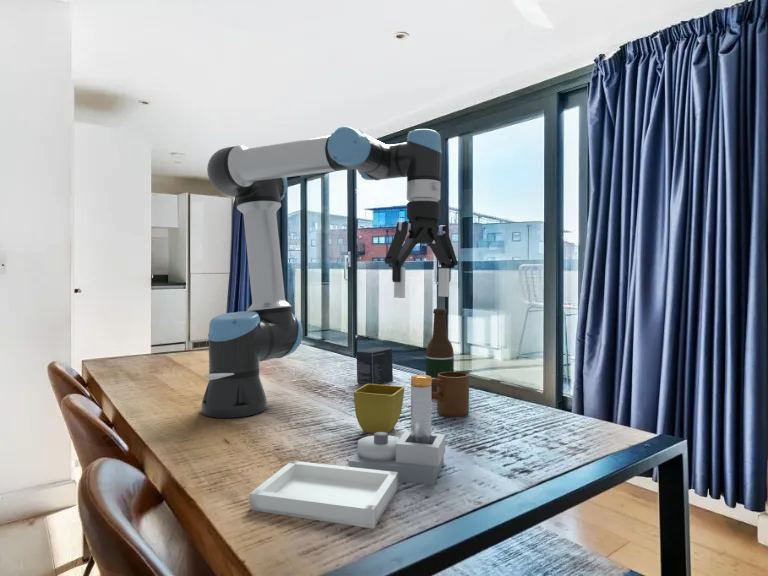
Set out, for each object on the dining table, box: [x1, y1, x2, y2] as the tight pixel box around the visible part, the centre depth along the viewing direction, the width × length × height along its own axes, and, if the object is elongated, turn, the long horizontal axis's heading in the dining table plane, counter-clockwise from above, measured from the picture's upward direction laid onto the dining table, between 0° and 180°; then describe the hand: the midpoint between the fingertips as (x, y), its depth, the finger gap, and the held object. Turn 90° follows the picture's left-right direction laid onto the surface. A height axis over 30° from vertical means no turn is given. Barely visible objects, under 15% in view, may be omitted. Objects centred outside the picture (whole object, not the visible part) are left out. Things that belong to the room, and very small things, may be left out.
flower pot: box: [352, 384, 405, 434], centre depth 106 cm, size 9×9×9 cm
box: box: [355, 346, 394, 386], centre depth 154 cm, size 11×7×10 cm, turn 144°
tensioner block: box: [348, 430, 446, 486], centre depth 85 cm, size 14×10×6 cm
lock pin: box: [410, 374, 432, 444], centre depth 84 cm, size 3×3×13 cm
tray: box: [249, 460, 399, 529], centre depth 73 cm, size 18×13×2 cm
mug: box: [431, 371, 470, 418], centre depth 119 cm, size 12×8×9 cm, turn 121°
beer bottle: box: [425, 308, 455, 392], centre depth 138 cm, size 8×8×24 cm
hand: (422, 297), depth 112 cm, fingers open, 13 cm apart
